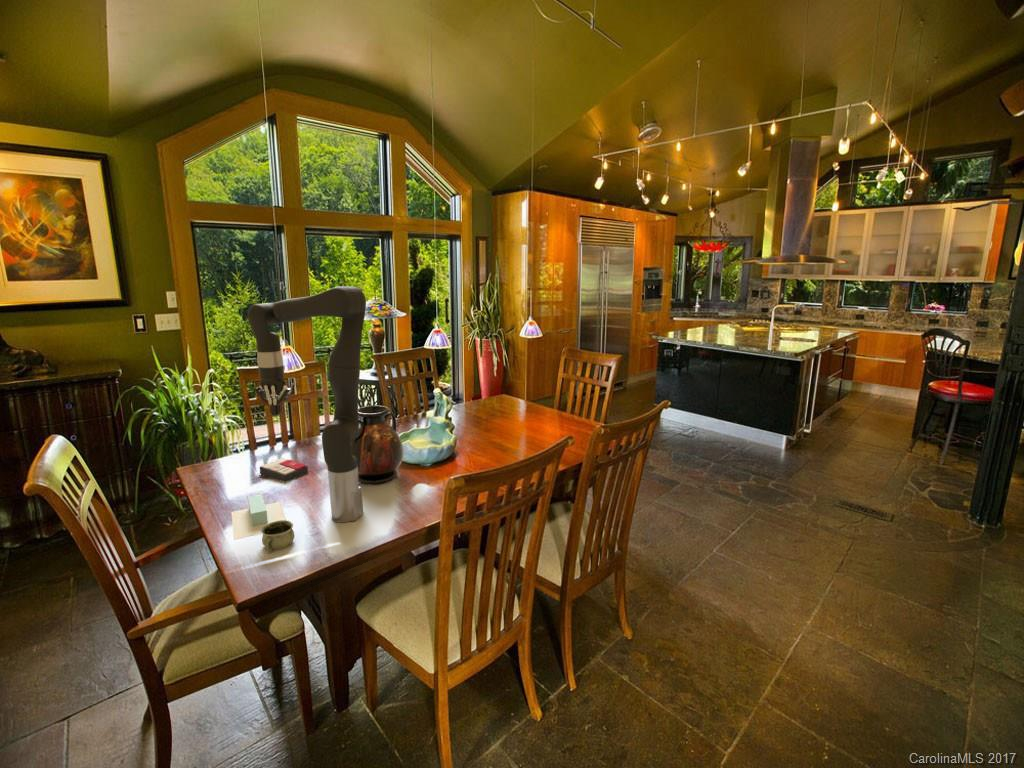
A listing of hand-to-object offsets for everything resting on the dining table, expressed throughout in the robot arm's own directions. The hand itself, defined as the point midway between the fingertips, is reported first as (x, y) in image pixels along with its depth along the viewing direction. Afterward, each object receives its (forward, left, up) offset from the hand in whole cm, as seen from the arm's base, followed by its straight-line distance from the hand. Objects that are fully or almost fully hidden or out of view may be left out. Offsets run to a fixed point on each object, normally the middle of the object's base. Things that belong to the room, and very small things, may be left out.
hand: (276, 414), depth 167 cm
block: (-2, +17, -29) cm, 34 cm away
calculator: (+15, -23, -33) cm, 43 cm away
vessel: (-15, +27, -32) cm, 44 cm away
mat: (0, +14, -32) cm, 35 cm away
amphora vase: (-23, -25, -32) cm, 47 cm away
